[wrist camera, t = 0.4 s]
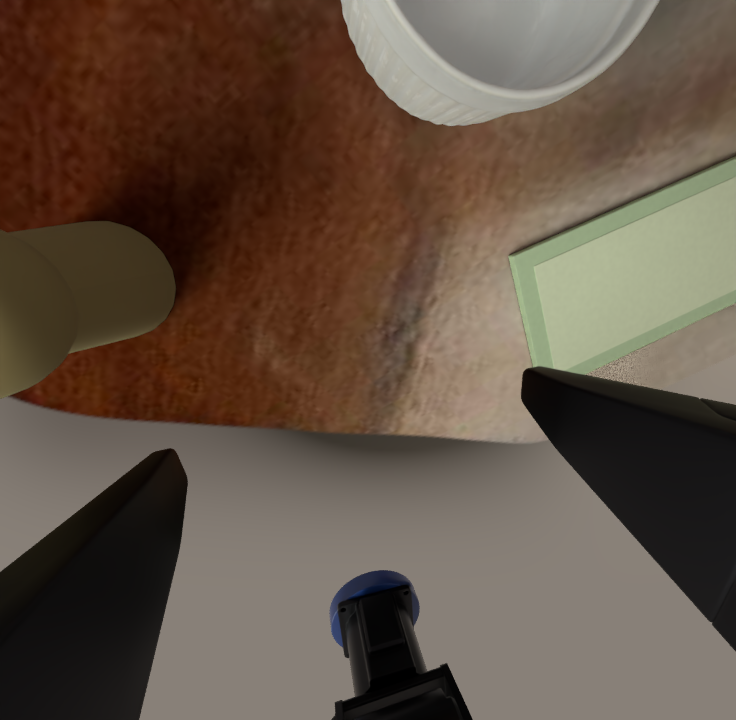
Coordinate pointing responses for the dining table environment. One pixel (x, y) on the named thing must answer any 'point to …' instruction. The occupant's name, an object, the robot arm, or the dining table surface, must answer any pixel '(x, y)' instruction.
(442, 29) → the ramekin
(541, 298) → the mat
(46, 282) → the olive pawn
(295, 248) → the dining table surface
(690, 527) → the robot arm
